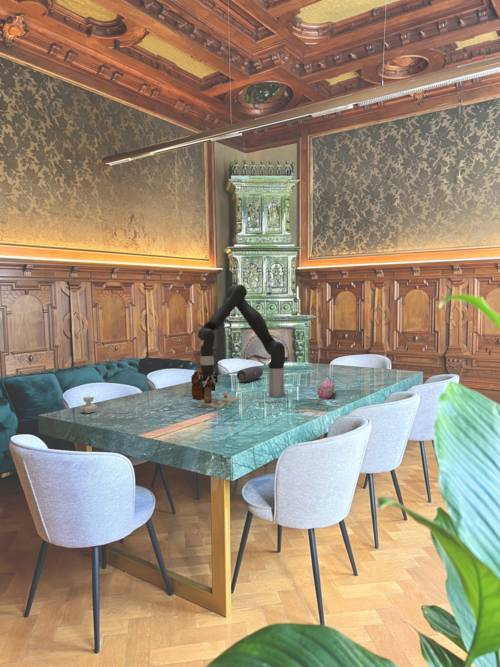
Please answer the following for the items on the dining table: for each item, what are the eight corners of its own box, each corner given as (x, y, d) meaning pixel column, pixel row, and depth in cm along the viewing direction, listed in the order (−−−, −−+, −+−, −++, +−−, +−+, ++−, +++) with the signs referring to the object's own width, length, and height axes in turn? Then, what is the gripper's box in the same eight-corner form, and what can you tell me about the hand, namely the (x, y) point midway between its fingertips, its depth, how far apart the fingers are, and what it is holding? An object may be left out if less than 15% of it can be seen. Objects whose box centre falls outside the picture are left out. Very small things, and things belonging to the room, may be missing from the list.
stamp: (93, 410, 249) (93, 394, 248) (99, 411, 244) (99, 396, 244) (78, 413, 243) (77, 397, 242) (83, 415, 238) (83, 399, 237)
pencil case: (320, 392, 285) (320, 378, 285) (335, 392, 283) (335, 378, 282) (316, 399, 265) (316, 384, 264) (332, 400, 262) (332, 384, 262)
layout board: (215, 400, 267) (215, 398, 267) (234, 403, 258) (234, 400, 258) (199, 405, 256) (199, 402, 256) (218, 408, 247) (218, 405, 247)
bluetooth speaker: (247, 384, 318) (246, 370, 318) (236, 382, 323) (235, 369, 323) (263, 379, 337) (263, 365, 336) (253, 378, 342) (253, 365, 342)
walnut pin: (207, 401, 259) (207, 387, 258) (213, 401, 257) (212, 388, 256) (203, 402, 256) (202, 388, 255) (208, 403, 253) (208, 389, 253)
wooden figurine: (195, 400, 268) (194, 370, 266) (191, 398, 273) (190, 369, 272) (213, 398, 274) (212, 368, 273) (208, 396, 279) (207, 367, 278)
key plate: (229, 397, 274) (229, 390, 273) (239, 399, 269) (239, 391, 269) (220, 400, 267) (220, 392, 267) (231, 401, 262) (230, 394, 262)
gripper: (203, 365, 247) (204, 395, 248) (220, 362, 258) (221, 390, 259) (193, 364, 251) (194, 393, 253) (210, 361, 263) (211, 389, 264)
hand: (208, 392), depth 256 cm, fingers open, 8 cm apart
